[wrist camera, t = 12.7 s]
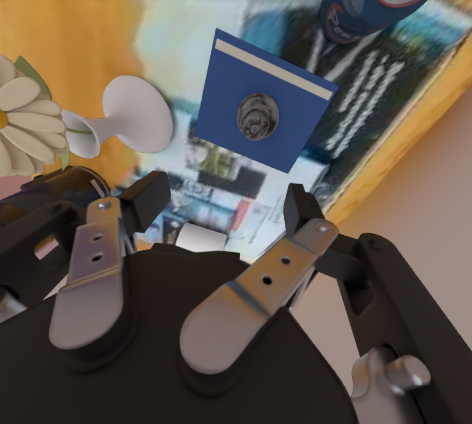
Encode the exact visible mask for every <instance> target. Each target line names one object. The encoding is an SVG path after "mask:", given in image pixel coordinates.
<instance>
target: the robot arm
mask: <svg viewBox="0 0 472 424" xmlns="http://www.w3.org/2000/svg"><path fill="white" fill-rule="evenodd" d="M62 169H63V168H61V169H59V170H57V171H54V172H52V173H49V174H47V175H45V176H43V175H39V176H36V177H34V179H33V181H30V182H28V183H26V184H23V185H22V186H21V187H20V189H21V191H20V192H18V193H15V194H13V195H11V196H8V197H6V198H4V199H2V200H0V424H472V351H471V350H470V348H469V347H468V345H467V344H466V343H465V341H464V340H463V339H462V337H461V336H460V334H459V333H458V332H457V330H456V329H455V328H454V326H453V325H452V323H451V322H450V321H449V319H448V318H447V317H446V315H445V314H444V312H443V311H442V310H441V308H440V307H439V306H438V304H437V303H436V301H435V300H434V299H433V297H432V296H431V295H430V293H429V292H428V290H427V289H426V288H425V286H424V285H423V284H422V282H421V281H420V280H419V278H418V277H417V275H416V274H415V273H414V271H413V270H412V268H411V267H410V266H409V264H408V263H407V262H406V260H405V259H404V257H403V256H402V255H401V253H400V252H399V251H398V249H397V248H396V247H395V245H394V244H392V242H390V241H389V240H387V239H386V238H384V237H382V236H380V235H376V234H373V233H363V234H361V235H360V236H359V238H358V239H354V238H351V237H348V236H345V235H342V234H340V233H339V230H338V228H337V226H336V225H335V224H333V223H332V222H330V221H328V220H325V218H324V215H323V213H322V211H321V209H320V208H319V204H318V202H317V200H316V198H315V197H314V196H313V195H312V194H311V193H308V192H305V190H304V187H303V185H302V184H295V183H290V184H289V186H288V190H287V194H286V198H285V203H284V209H283V214H284V220H285V227H286V233H287V235H285V236H283V237H282V238H281V239H280V240H279V241H278V242H277V243H275V244H274V245H273V246H272V247H271V248H270V249H269V250H268V251H266V252H265V253H264V254H263V255H262V256H261V257H260V258H259V259H257V260H256V261H255V262H254V263H253V264H252V265H250V264H248V263H246V262H244V261H242V260H240V253H236V252H228V251H219V250H217V251H205V252H193V251H190V250H187V249H185V248H182V247H179V246H176V245H170V244H162V243H154V245H153V246H152V248H151V249H148V250H142V251H138V252H137V248H136V243H135V238H134V235H133V234H134V232H139V233H145V231H146V230H147V229H148V228H149V226H150V225H151V224H152V223H153V221H154V220H155V219H156V218H157V216H158V215H159V214H160V213H161V211H162V210H163V209H164V207H165V206H166V205H167V204H168V202H169V201H170V198H171V192H170V187H169V182H168V177H167V174H166V172H163V171H152V172H150V173H149V174H148V175H147V176H145V177H144V178H142V179H140V180H137V181H136V182H135V183H134V184H133V185H131V186H130V187H128V188H127V189H126V190H125V191H123V192H122V193H121V194H119V195H118V196H117V197H110V192H109V189H108V187H107V185H106V183H105V182H104V181H103V180H102V178H101V177H99V176H98V175H97V174H96V173H94V172H93V171H91V170H89V169H87V168H84V167H71V166H66V167H65V169H64V170H63V171H62ZM55 239H56V240H57V242H58V243H59V245H58V246H56V247H55V248H54V249H53V250H52V251H50V252H49V253H48V254H47V255H46V256H45V257H43V258H42V259H41V260H39V259H38V258H37V257H36V255H35V254H36V253H38V252H39V251H40V250H42V249H43V248H44V247H46V246H47V245H48V244H50V243H51V242H52V241H54V240H55ZM319 272H320V273H323V274H325V275H328V276H330V277H333V278H336V279H337V282H338V286H339V289H340V292H341V296H342V299H343V302H344V305H345V309H346V312H347V315H348V319H349V322H350V325H351V329H352V332H353V335H354V338H355V342H356V345H357V348H358V351H359V355H360V358H359V359H358V360H357V361H355V363H354V364H353V367H352V380H353V392H352V395H351V397H350V396H349V394H348V392H347V390H346V388H345V386H344V385H343V383H342V381H341V380H340V378H339V377H338V375H337V374H336V372H335V371H334V370H333V369H332V367H331V366H330V364H329V363H328V362H327V361H326V359H325V358H324V356H323V355H322V354H321V352H320V351H319V350H318V349H317V347H316V346H315V345H314V344H313V342H312V341H311V339H310V338H309V337H308V335H307V334H306V333H305V331H304V330H303V329H302V327H301V326H300V325H299V323H298V322H297V321H296V319H295V318H294V317H293V315H292V312H293V310H294V309H295V307H296V306H297V304H298V303H299V301H300V299H301V297H302V296H303V294H304V293H305V292H306V290H307V289H308V287H309V286H310V284H311V283H312V282H313V280H314V279H315V277H316V276H317V274H318V273H319ZM67 274H68V277H67V282H66V285H65V286H64V287H62V288H60V290H59V291H58V293H56V294H54V295H52V296H50V297H48V298H46V299H45V300H43V299H44V298H45V297H46V296H47V295H48V294H49V293H50V292H51V291H52V290H53V289H54V287H55V286H56V285H57V284H58V283H59V282H60V281H61V280H62V279H63V278H64V277H65V276H66V275H67ZM42 300H43V301H42Z"/></svg>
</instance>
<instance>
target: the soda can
mask: <svg viewBox="0 0 472 424" xmlns="http://www.w3.org/2000/svg"><path fill="white" fill-rule="evenodd" d="M426 1H427V0H322V2H321V8H320V20H321V26H322V29H323V31H324V33H325V35H326V36H327V38H328V39H329V40H331V41H332V42H334V43H337V44H349V43H353V42H355V41H357V40H359V39H361V38H364V37H366V36H368V35H370V34H372V33H374V32H376V31H379V30H381V29H383V28H385V27H387V26H389V25H392V24H394V23H396V22H398V21H400V20H402V19H404V18H406V17H408V16H409V15H411V14H412V13H414V12H415V11H416V10H417V9H419V8H420V7H421V6H422V5H423V4H424V3H425V2H426Z"/></svg>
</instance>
